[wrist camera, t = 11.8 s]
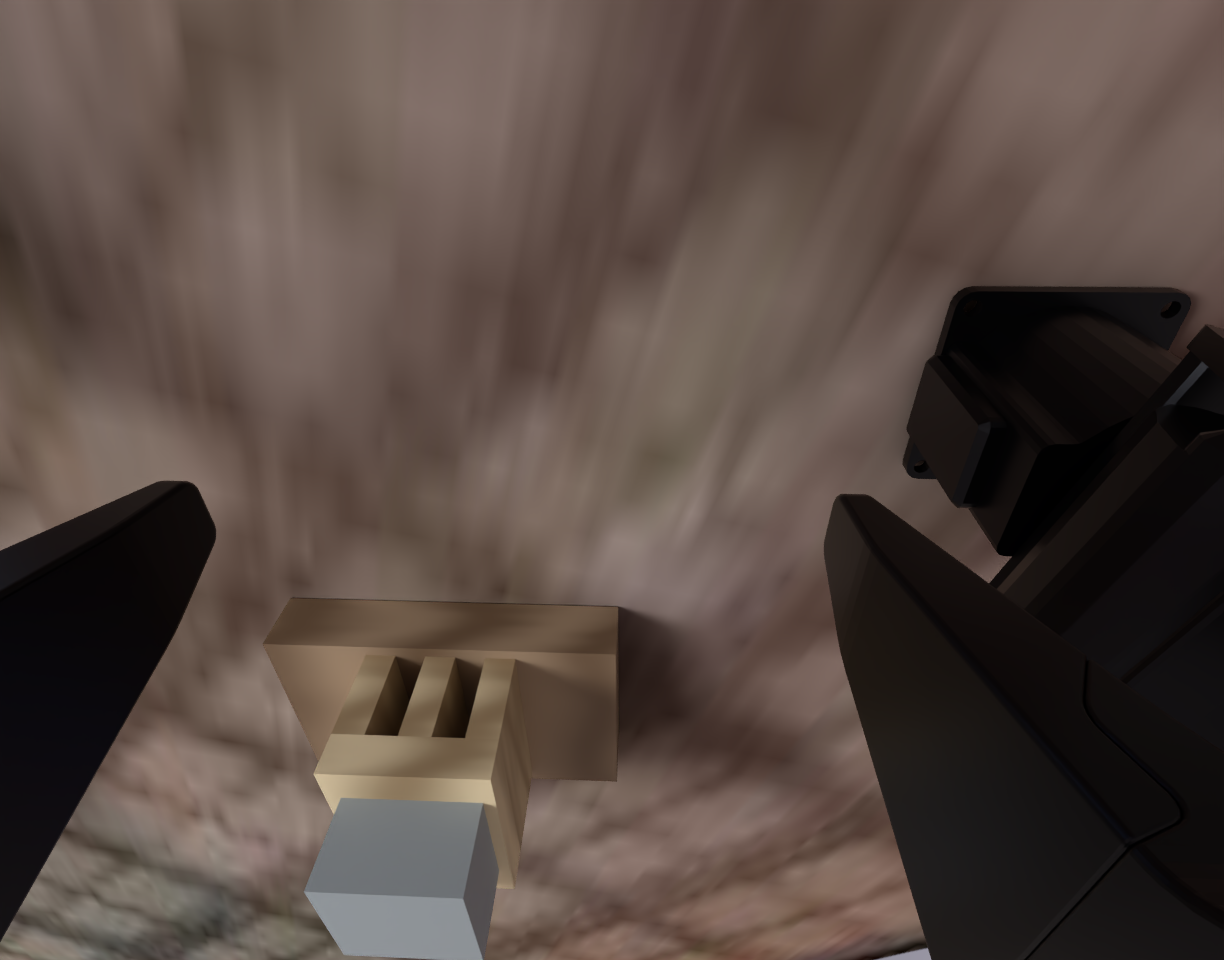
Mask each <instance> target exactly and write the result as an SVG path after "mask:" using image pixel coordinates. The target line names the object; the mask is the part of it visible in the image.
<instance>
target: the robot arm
mask: <svg viewBox="0 0 1224 960" xmlns="http://www.w3.org/2000/svg"><path fill="white" fill-rule="evenodd" d="M972 300H977V304H976V305H975V307H974V308H973V309H971V310H970V311H966V312H964V307H965V305H966V304H967V303H968V302H970V301H972ZM1170 302H1172V303H1171V306H1170V307H1169V308H1168V309H1167V310H1166V311H1164V312H1162V313H1161V310H1162V308H1163V307H1164V306H1165V305H1166V304H1168V303H1170ZM1190 305H1191V300H1190V297H1189V296H1187V295H1186V294H1185V293H1183V292H1181V291H1179V290H1177V289H1173V288H1127V287H984V286H972V287H967V288H964V289H962V290H960V291H959V292H958V293H957V294H956V295H955V296H954V297H953V298H952V300H951V302H950V305H949V308H948V312H947V315H946V318H945V322H944V325H943V328H942V332H941V335H940V338H939V342H938V345H937V348H936V352H935V355H933V356H932V357H931V358H930V359H929V360H928V361H927V362H926V364H925V367H924V370H923V374H922V377H921V381H920V384H919V387H918V391H917V394H916V397H915V401H914V404H913V408H912V411H911V414H910V418H909V421H908V425H907V432H908V433H909V435H910V438H909V441H908V444H907V448H906V451H905V454H904V458H903V466H904V468H905V470H906V471H907V473H908V475H909V476H911V477H912V478H917V479H937V480H938V482H939V483H940V485H941V486H942V488H943V490H944V491H945V493H946V494H947V496H948V498H949V499H950V500H951V502H952V503H953V504H954V505H955V506H956V507H957V508H969V510H970V512H971V513H972V515H973V516H974V518H975V519H976V521H977V522H978V524H979V525H980V527H981V528H982V530H983V532H984V533H985V535H986V536H987V538H988V539H989V541H990V542H991V544H992V545H993V547H994V548H995V550H996V551H997V553H998V554H999V555H1002V556H1012V558H1011V559H1010V560H1009V561H1008V562H1007V563H1006V565H1005V566H1004V567H1003V568H1002V569H1001V570H1000V572H999V573H998V574H997V575H996V576H995V577H994V578H993V580H992V581H991V582H990V583H988V582H986V581H985V580H983V579H982V578H981V577H979V576H978V575H977V574H975V573H974V572H973V571H971V570H970V569H969V568H967V567H966V566H964V565H963V564H962V563H960V562H959V561H958V560H956V559H955V558H954V557H952V556H951V555H950V554H948V553H947V552H946V551H944V550H943V549H941V548H940V547H939V546H937V545H936V544H935V543H933V542H932V541H931V540H929V539H928V538H927V537H925V536H924V535H922V534H921V533H920V532H918V531H917V530H916V529H914V528H913V527H912V526H910V525H909V524H908V523H906V522H905V521H904V520H902V519H901V518H899V517H898V516H897V515H895V514H894V513H893V512H891V511H890V510H889V509H887V508H886V507H885V506H883V505H882V504H880V503H879V502H878V501H876V500H875V499H874V498H872V497H871V496H869V495H865V494H840V495H839V496H837V497H836V499H835V501H834V503H833V507H832V511H831V515H830V519H829V524H828V528H827V532H826V536H825V541H824V558H825V564H826V570H827V576H828V582H829V588H830V594H831V600H832V606H833V612H834V618H835V624H836V630H837V636H838V641H839V647H840V652H841V656H842V660H843V663H844V667H845V671H846V674H847V677H848V681H849V684H850V687H851V691H852V694H853V698H854V701H855V704H856V708H857V711H858V714H859V718H860V721H861V724H862V728H863V731H864V734H865V738H866V741H867V745H868V748H869V751H870V755H871V758H872V761H873V765H874V768H875V771H876V775H877V778H878V781H879V785H880V788H881V792H882V795H883V798H884V802H885V805H886V808H887V812H888V815H889V818H890V822H891V825H892V829H893V832H894V835H895V839H896V842H897V845H898V849H899V852H900V855H901V859H902V862H903V865H904V869H905V872H906V876H907V879H908V882H909V886H910V889H911V892H912V896H913V899H914V902H915V906H916V909H917V913H918V916H919V919H920V923H921V926H922V929H923V933H924V936H925V939H926V943H927V946H928V949H929V953H930V956H931V959H932V960H1224V329H1221V328H1217V327H1214V326H1211V325H1205V326H1204V327H1203V328H1202V330H1201V331H1200V332H1199V333H1198V334H1197V335H1196V337H1195V338H1194V339H1193V340H1192V341H1191V342H1190V344H1189V345H1188V346H1187V348H1188V349H1189V350H1190V352H1189V353H1188V354H1187V355H1186V357H1185V358H1184V359H1183V360H1182V359H1180V358H1178V357H1177V356H1175V355H1174V354H1172V353H1171V352H1169V351H1168V349H1169V348H1170V346H1171V344H1172V342H1173V340H1174V338H1175V336H1176V334H1177V332H1178V330H1179V328H1180V326H1181V325H1182V323H1183V321H1184V319H1185V317H1186V315H1187V313H1188V311H1189V309H1190ZM922 460H925V462H924V463H923V464H921V465H920V466H915V464H916V463H917V462H919V461H922ZM215 540H216V528H215V524H214V522H213V520H212V518H211V516H210V513H209V511H208V509H207V507H206V505H205V503H204V500H203V498H202V496H201V494H200V492H199V490H198V488H197V487H196V486H195V485H194V484H193V483H190V482H188V481H159V482H156V483H154V484H151V485H149V486H147V487H144V488H142V489H140V490H138V491H135V492H133V493H131V494H129V495H126V496H124V497H122V498H119V499H117V500H115V501H113V502H110V503H108V504H106V505H103V506H101V507H99V508H97V509H94V510H92V511H90V512H87V513H85V514H83V515H81V516H78V517H76V518H74V519H72V520H69V521H67V522H65V523H62V524H60V525H58V526H56V527H53V528H51V529H49V530H46V531H44V532H42V533H40V534H37V535H35V536H33V537H30V538H28V539H26V540H24V541H21V542H19V543H17V544H15V545H12V546H10V547H8V548H5V549H3V550H1V551H0V942H1V940H2V938H3V936H4V934H5V933H6V931H7V929H8V927H9V926H10V924H11V922H12V920H13V919H14V917H15V915H16V913H17V912H18V910H19V908H20V906H21V905H22V903H23V901H24V899H25V898H26V896H27V894H28V892H29V890H30V889H31V887H32V885H33V883H34V882H35V880H36V878H37V876H38V875H39V873H40V871H41V869H42V868H43V866H44V864H45V862H46V861H47V859H48V857H49V855H50V853H51V852H52V850H53V848H54V846H55V845H56V843H57V841H58V839H59V838H60V836H61V834H62V832H63V831H64V829H65V827H66V825H67V824H68V822H69V820H70V818H71V817H72V815H73V813H74V811H75V809H76V808H77V806H78V804H79V802H80V801H81V799H82V797H83V795H84V794H85V792H86V790H87V788H88V787H89V785H90V783H91V781H92V780H93V778H94V776H95V774H96V773H97V771H98V769H99V767H100V765H101V764H102V762H103V760H104V758H105V757H106V755H107V753H108V751H109V750H110V748H111V746H112V744H113V743H114V741H115V739H116V737H117V736H118V734H119V732H120V730H121V728H122V727H123V725H124V723H125V721H126V720H127V718H128V716H129V714H130V713H131V711H132V709H133V707H134V706H135V704H136V702H137V700H138V699H139V697H140V695H141V693H142V692H143V690H144V688H145V686H146V684H147V683H148V681H149V679H150V677H151V676H152V674H153V672H154V670H155V669H156V667H157V665H158V663H159V662H160V660H161V658H162V656H163V655H164V653H165V651H166V649H167V647H168V646H169V644H170V642H171V640H172V638H173V636H174V634H175V632H176V630H177V628H178V626H179V624H180V622H181V619H182V617H183V615H184V613H185V610H186V608H187V606H188V603H189V601H190V599H191V597H192V594H193V592H194V590H195V587H196V585H197V583H198V580H199V578H200V576H201V574H202V571H203V569H204V567H205V564H206V562H207V560H208V557H209V555H210V553H211V551H212V548H213V546H214V543H215Z"/></svg>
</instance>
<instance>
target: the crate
mask: <svg viewBox="0 0 1224 960" xmlns="http://www.w3.org/2000/svg"><path fill="white" fill-rule="evenodd" d="M498 875H499V868H498V864H497V859H496V855H495V851H494V847H493V843H492V839H491V834H490V830H489V826H488V822H487V818H486V814H485V810H484V805H483V803H469V802H442V801H415V800H387V799H360V798H340V801H339V804H338V806H337V809H336V811H335V814H334V816H333V819H332V821H331V824H330V827H329V829H328V832H327V834H326V837H325V839H324V842H323V845H322V847H321V850H320V852H319V855H318V857H317V860H316V862H315V865H314V868H313V870H312V873H311V875H310V878H309V880H308V883H307V886H306V888H305V891H304V893H305V894H306V896H307V897H308V899H309V901H310V902H311V904H312V905H313V907H314V908H315V910H316V912H317V913H318V915H319V916H320V918H321V919H322V921H323V923H324V924H325V926H326V927H327V929H328V930H329V932H330V934H331V935H332V937H333V938H334V940H335V941H336V943H337V945H338V946H339V948H340V949H341V951H342V952H343V954H344V955H355V956H376V957H397V958H419V959H440V960H484V956H485V950H486V944H487V939H488V933H489V927H490V921H491V915H492V910H493V904H494V898H495V892H496V886H497V881H498Z"/></svg>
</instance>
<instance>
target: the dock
mask: <svg viewBox="0 0 1224 960" xmlns="http://www.w3.org/2000/svg"><path fill="white" fill-rule="evenodd" d="M263 646H264V648H265V650H266V652H267V654H268V656H269V658H270V660H271V663H272V665H273V667H274V669H275V671H276V673H277V675H278V677H279V679H280V682H281V684H282V686H283V688H284V690H285V692H286V694H287V696H288V698H289V700H290V703H291V705H292V707H293V709H294V711H295V713H296V715H297V717H298V719H299V721H300V724H301V726H302V728H303V730H304V732H305V734H306V736H307V738H308V740H309V742H310V745H311V747H312V749H313V751H314V753H315V755H316V757H317V759H318V761H319V760H320V758H321V756H322V753H323V751H324V749H325V747H326V744H327V742H328V740H329V737H330V735H331V733H332V731H333V728H334V726H335V724H336V721H337V719H338V717H339V715H340V712H341V710H342V708H343V705H344V703H345V701H346V699H347V696H348V694H349V692H350V690H351V687H352V685H353V683H354V680H355V678H356V676H357V674H358V671H359V669H360V667H361V664H362V662H363V660H364V658H365V655H383V656H396V660H397V663H398V666H399V669H400V672H401V676H402V679H403V682H404V685H405V688H406V692H407V695H408V698H409V701H410V699H411V696H412V693H413V690H414V688H415V685H416V682H417V679H418V676H419V673H420V670H421V667H422V664H423V661H424V659H425V657H455V659H456V664H457V668H458V672H459V677H460V681H461V685H462V689H463V694H464V698H465V702H466V707H467V711H468V715H469V720H470V717H471V713H472V709H473V705H474V701H475V697H476V693H477V689H478V685H479V681H480V677H481V673H482V669H483V665H484V661H485V658H495V659H515V660H516V667H517V674H518V680H519V687H520V693H521V700H522V707H523V713H524V720H525V727H526V733H527V740H528V747H529V753H530V760H531V767H532V777H531V778H538V779H565V780H591V781H617V762H618V736H619V699H618V607H602V606H565V605H527V604H490V603H452V602H415V601H377V600H340V599H302V598H290V600H289V602H288V603H287V605H286V607H285V608H284V610H283V612H282V613H281V615H280V617H279V618H278V620H277V621H276V623H275V625H274V626H273V628H272V630H271V631H270V633H269V635H268V636H267V638H266V640H265V641H264V643H263Z"/></svg>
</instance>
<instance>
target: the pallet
mask: <svg viewBox="0 0 1224 960" xmlns="http://www.w3.org/2000/svg"><path fill="white" fill-rule="evenodd" d="M314 776H315V778H316V780H317V782H318V784H319V786H320V788H321V790H322V792H323V794H324V796H325V798H326V800H327V802H328V804H329V806H330V808H331V810H332V812H333V814H335V811H336V809H337V806H338V804H339V801H340V798H360V799H387V800H415V801H442V802H469V803H483V805H484V810H485V814H486V818H487V822H488V826H489V830H490V834H491V839H492V843H493V847H494V851H495V855H496V859H497V864H498V868H499V875H498V881H497V886H496V888H505V889H515V883H516V876H517V870H518V863H519V856H520V850H521V843H522V837H523V830H524V823H525V817H526V810H527V803H528V797H529V790H530V784H531V777H532V767H531V760H530V753H529V747H528V740H527V733H526V727H525V720H524V713H523V707H522V700H521V693H520V687H519V680H518V674H517V667H516V660H515V659H495V658H485V661H484V665H483V669H482V673H481V677H480V681H479V685H478V689H477V693H476V697H475V701H474V705H473V709H472V713H471V717H470V720H469V715H468V711H467V707H466V702H465V698H464V694H463V689H462V685H461V681H460V677H459V672H458V668H457V664H456V659H455V657H425V659H424V661H423V664H422V667H421V670H420V673H419V676H418V679H417V682H416V685H415V688H414V690H413V693H412V696H411V699H410V701H409V698H408V695H407V692H406V688H405V685H404V682H403V679H402V676H401V672H400V669H399V666H398V663H397V660H396V656H383V655H365V658H364V660H363V662H362V664H361V667H360V669H359V671H358V674H357V676H356V678H355V680H354V683H353V685H352V687H351V690H350V692H349V694H348V696H347V699H346V701H345V703H344V705H343V708H342V710H341V712H340V715H339V717H338V719H337V721H336V724H335V726H334V728H333V731H332V733H331V735H330V737H329V740H328V742H327V744H326V747H325V749H324V751H323V753H322V756H321V758H320V760H319V763H318V765H317V767H316V769H315V772H314Z"/></svg>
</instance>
